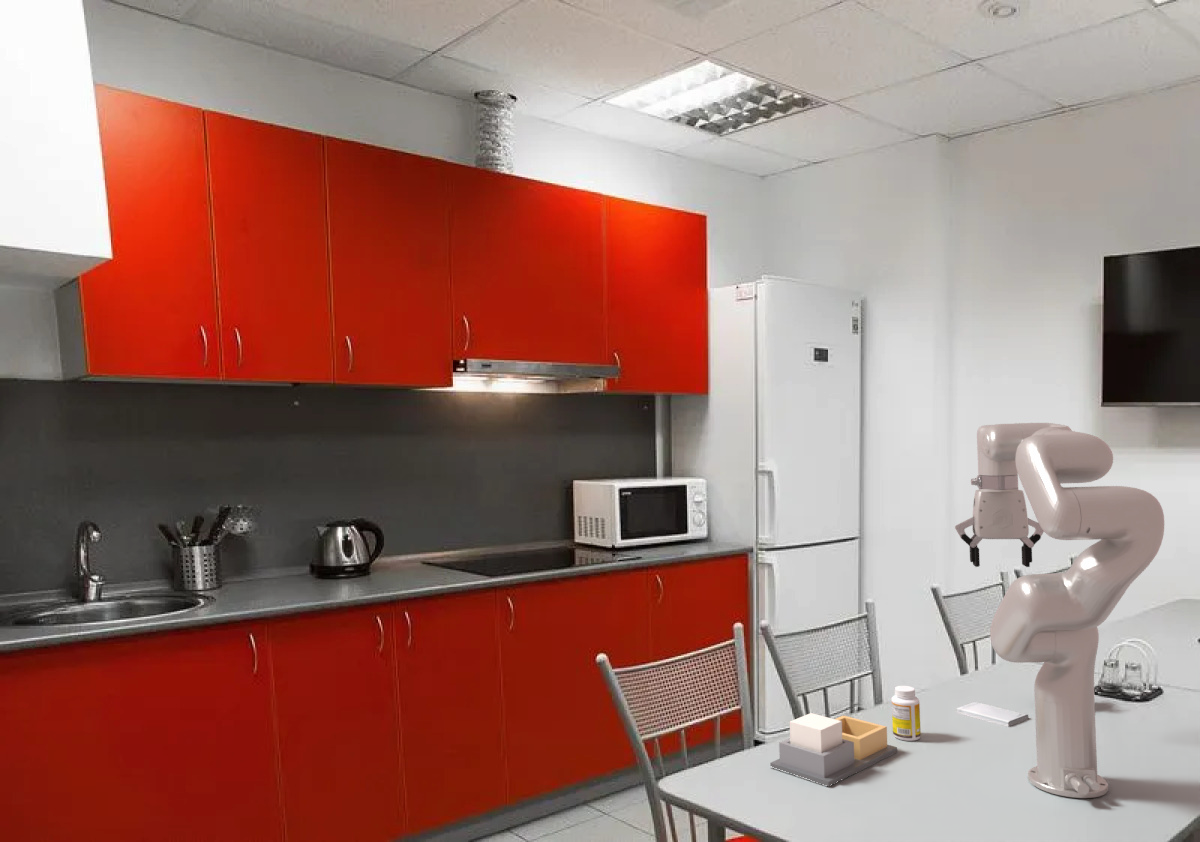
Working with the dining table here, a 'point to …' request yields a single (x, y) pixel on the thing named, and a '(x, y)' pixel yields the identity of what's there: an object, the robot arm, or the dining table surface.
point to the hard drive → (992, 714)
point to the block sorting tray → (832, 747)
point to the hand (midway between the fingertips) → (1000, 565)
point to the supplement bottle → (906, 714)
